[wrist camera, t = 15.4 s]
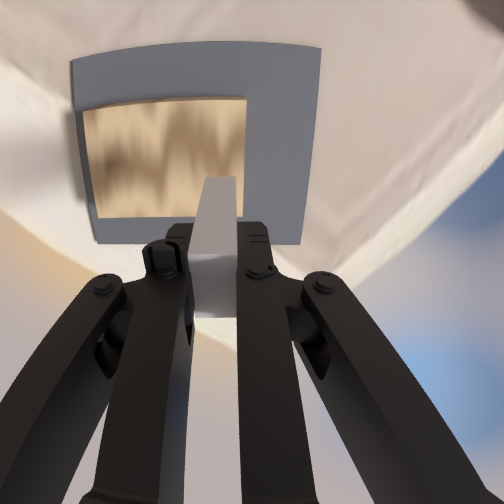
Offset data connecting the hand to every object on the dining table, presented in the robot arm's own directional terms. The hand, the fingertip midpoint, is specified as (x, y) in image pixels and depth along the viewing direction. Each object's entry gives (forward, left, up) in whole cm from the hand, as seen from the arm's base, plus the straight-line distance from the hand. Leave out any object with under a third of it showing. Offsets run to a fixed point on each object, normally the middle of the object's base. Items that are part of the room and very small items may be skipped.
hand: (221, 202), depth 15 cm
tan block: (0, +1, -9) cm, 9 cm away
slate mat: (0, -3, -11) cm, 11 cm away
